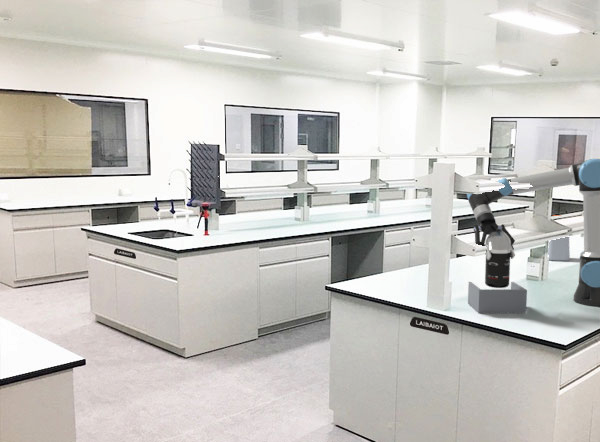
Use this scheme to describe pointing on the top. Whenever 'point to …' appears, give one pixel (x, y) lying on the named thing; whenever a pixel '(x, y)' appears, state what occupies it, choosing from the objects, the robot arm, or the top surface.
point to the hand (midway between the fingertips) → (501, 257)
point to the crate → (497, 299)
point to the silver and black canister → (498, 260)
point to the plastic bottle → (559, 249)
